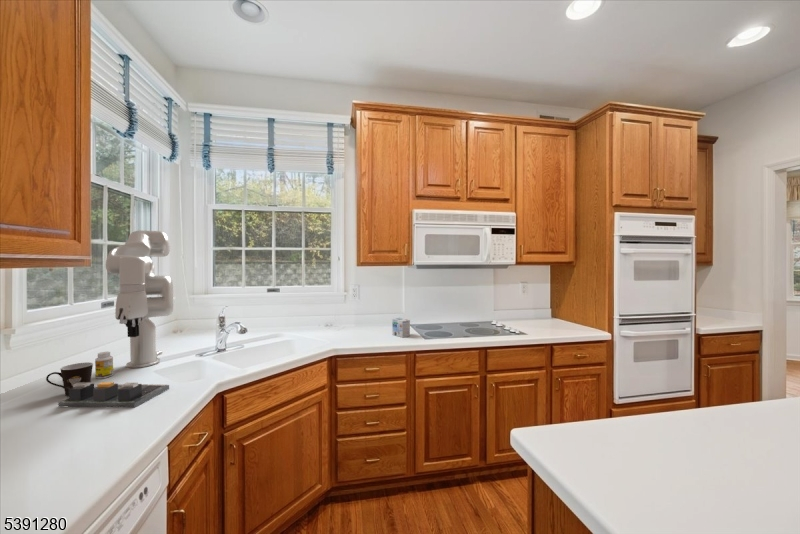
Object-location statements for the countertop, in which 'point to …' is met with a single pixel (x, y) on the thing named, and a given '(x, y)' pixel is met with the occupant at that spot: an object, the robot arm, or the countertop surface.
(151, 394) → the panel
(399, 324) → the light bulb box
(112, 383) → the block
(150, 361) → the robot arm
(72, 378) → the coffee mug
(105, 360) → the supplement bottle
